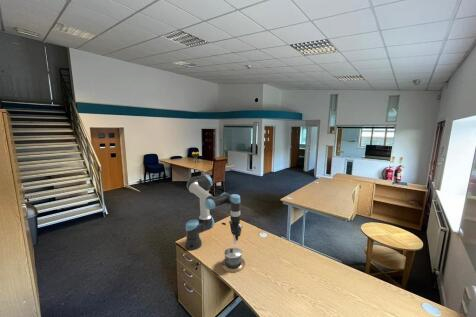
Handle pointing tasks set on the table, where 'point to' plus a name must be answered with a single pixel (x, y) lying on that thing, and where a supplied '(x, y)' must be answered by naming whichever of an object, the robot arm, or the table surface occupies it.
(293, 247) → the table surface
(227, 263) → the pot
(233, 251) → the lid
